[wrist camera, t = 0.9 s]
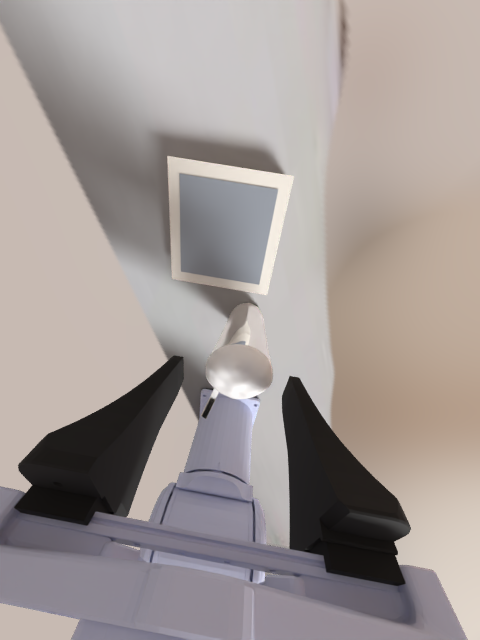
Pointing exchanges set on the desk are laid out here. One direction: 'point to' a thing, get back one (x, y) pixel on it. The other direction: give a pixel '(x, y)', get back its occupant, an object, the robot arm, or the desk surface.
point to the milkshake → (240, 357)
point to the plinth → (225, 223)
